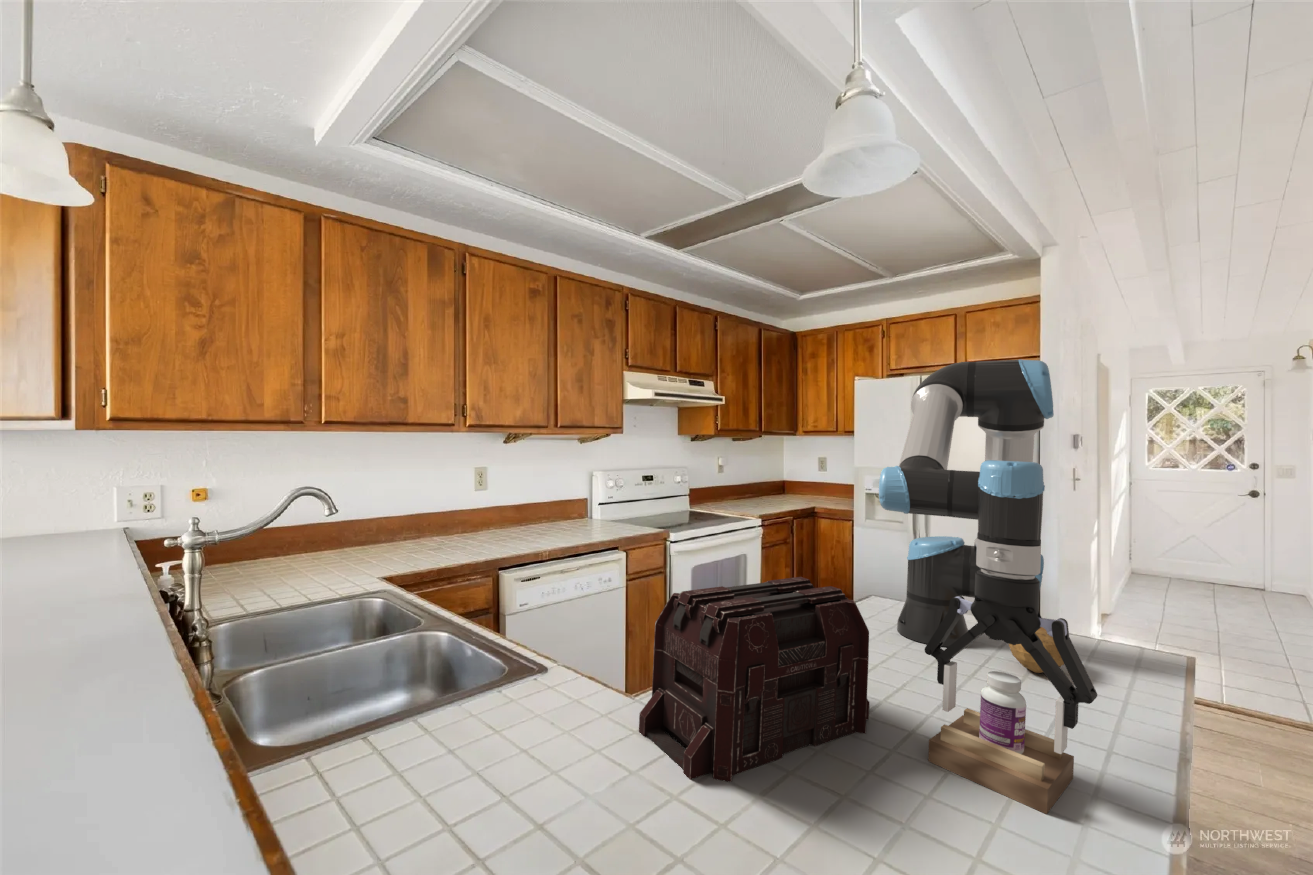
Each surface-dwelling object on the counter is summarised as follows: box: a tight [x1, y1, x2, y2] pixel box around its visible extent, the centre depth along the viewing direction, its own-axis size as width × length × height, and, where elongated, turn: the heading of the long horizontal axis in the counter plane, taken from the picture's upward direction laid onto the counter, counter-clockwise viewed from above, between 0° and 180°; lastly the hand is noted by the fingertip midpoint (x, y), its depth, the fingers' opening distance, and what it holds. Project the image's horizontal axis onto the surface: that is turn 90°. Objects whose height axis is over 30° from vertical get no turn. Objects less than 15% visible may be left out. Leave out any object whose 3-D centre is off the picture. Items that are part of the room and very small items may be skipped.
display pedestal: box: [927, 708, 1075, 815], centre depth 77 cm, size 14×12×5 cm
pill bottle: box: [979, 670, 1027, 754], centre depth 77 cm, size 5×5×10 cm
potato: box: [1008, 627, 1065, 674], centre depth 114 cm, size 10×14×8 cm
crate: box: [638, 576, 870, 783], centre depth 86 cm, size 35×19×21 cm, turn 122°
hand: (1001, 727), depth 77 cm, fingers open, 13 cm apart
